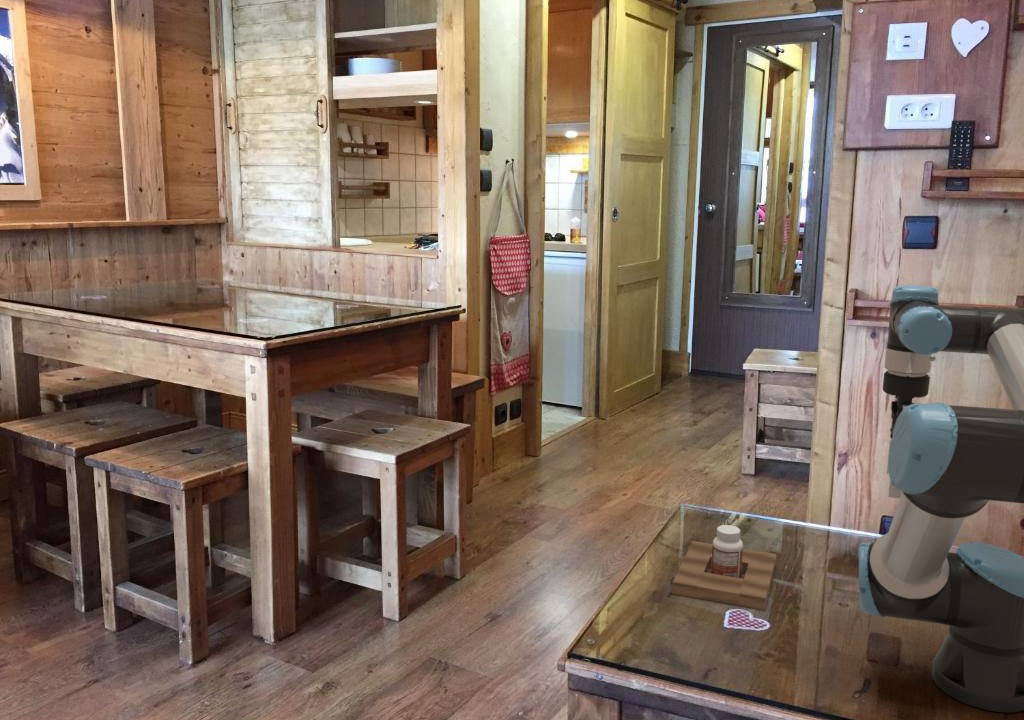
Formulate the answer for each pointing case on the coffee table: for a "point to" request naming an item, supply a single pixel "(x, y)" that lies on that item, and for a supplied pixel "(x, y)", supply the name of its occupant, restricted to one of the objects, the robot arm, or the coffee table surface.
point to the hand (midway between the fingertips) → (895, 485)
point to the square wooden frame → (725, 578)
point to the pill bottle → (727, 552)
